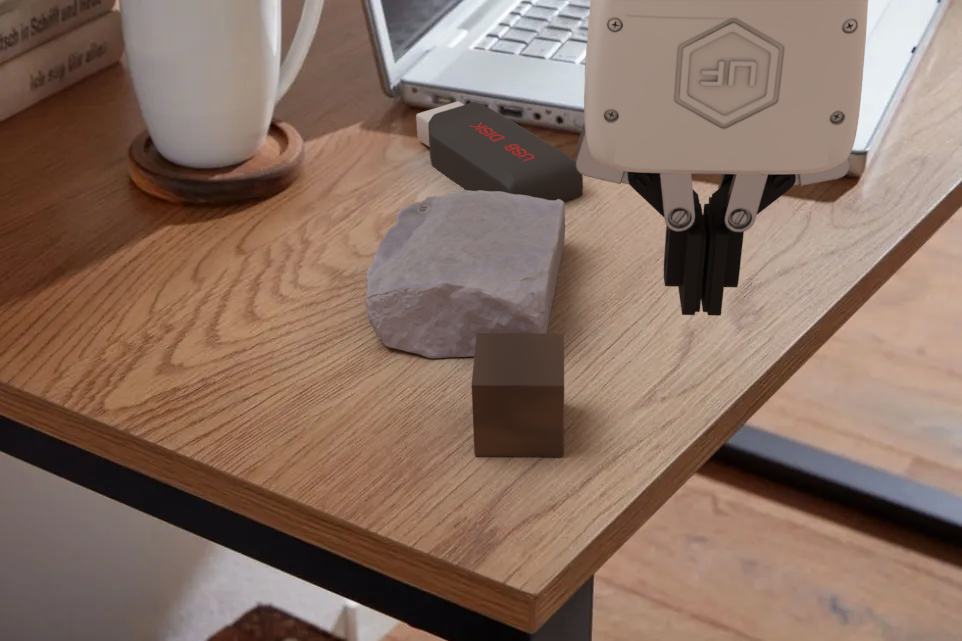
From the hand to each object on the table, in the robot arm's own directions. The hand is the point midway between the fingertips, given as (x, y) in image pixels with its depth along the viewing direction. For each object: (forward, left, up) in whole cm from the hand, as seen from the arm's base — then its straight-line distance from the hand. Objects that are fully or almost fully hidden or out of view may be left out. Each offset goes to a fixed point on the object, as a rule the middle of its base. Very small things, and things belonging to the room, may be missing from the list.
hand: (698, 297), depth 57 cm
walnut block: (+8, 0, -7) cm, 11 cm away
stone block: (+11, -12, -8) cm, 18 cm away
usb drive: (+10, -26, -8) cm, 29 cm away
